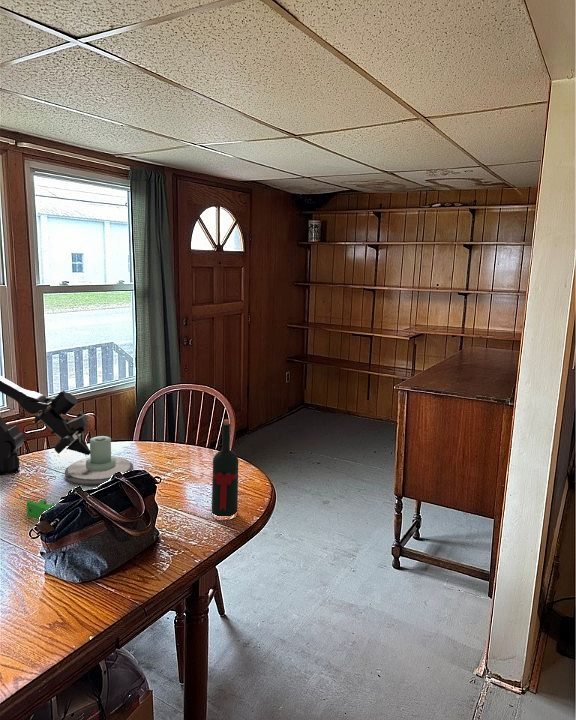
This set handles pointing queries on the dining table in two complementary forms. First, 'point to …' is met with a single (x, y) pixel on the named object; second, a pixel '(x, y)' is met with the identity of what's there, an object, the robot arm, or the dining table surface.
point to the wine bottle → (225, 478)
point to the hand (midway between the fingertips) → (89, 453)
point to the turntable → (94, 472)
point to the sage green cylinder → (100, 454)
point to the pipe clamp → (37, 508)
